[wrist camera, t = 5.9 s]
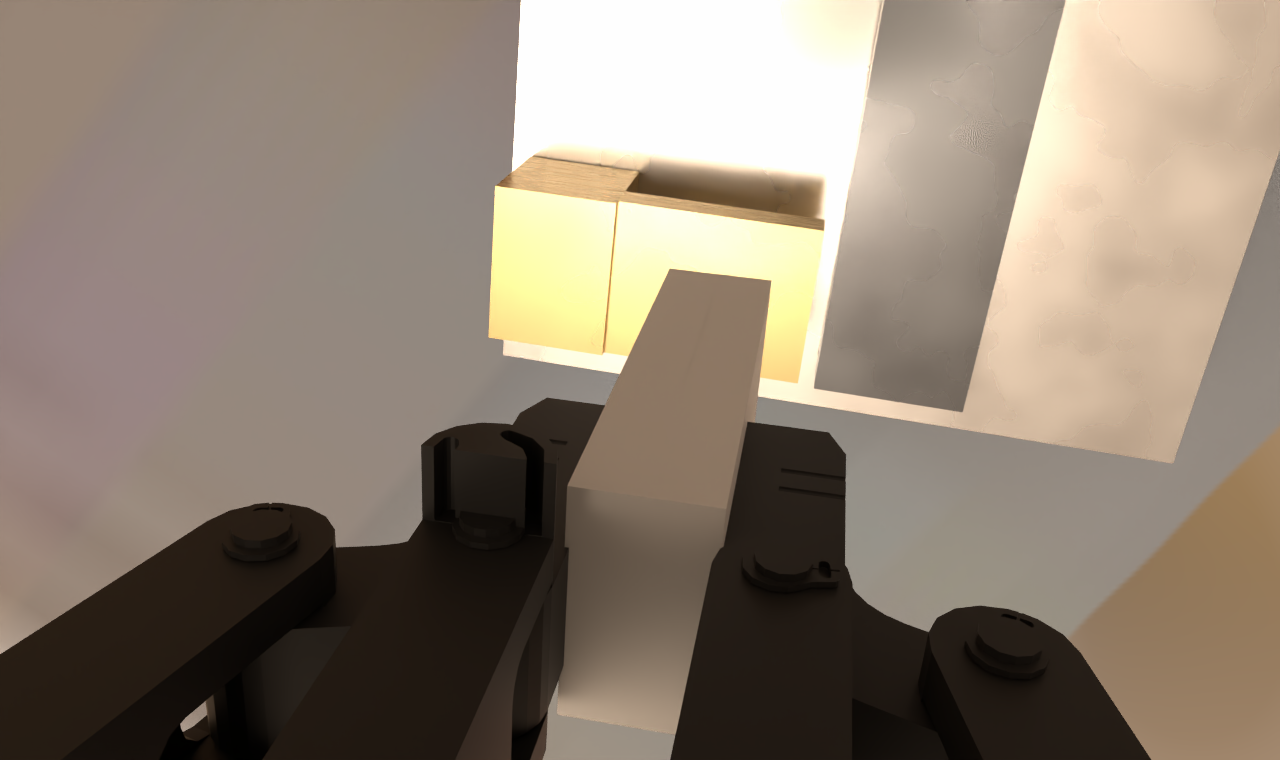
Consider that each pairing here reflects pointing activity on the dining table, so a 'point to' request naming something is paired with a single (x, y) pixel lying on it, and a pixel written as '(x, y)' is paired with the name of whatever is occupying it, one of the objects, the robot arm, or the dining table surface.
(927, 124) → the strap
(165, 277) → the dining table surface
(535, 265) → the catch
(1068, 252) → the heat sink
